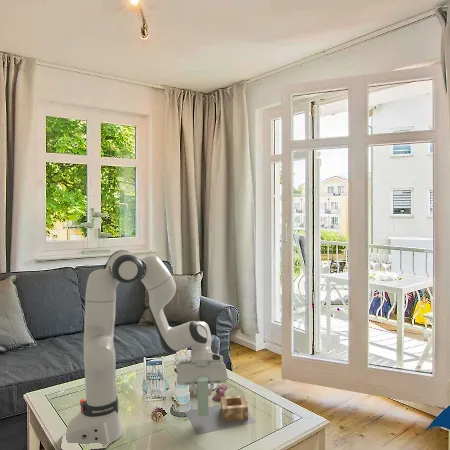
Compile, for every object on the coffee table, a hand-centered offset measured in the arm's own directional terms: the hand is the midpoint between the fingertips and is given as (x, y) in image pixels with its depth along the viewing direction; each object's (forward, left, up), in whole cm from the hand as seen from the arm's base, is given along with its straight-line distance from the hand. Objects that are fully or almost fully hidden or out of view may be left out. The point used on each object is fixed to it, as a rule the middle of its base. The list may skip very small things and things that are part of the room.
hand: (202, 394), depth 159 cm
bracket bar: (0, +1, -8) cm, 8 cm away
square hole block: (+13, +3, -12) cm, 18 cm away
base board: (+7, +3, -13) cm, 15 cm away
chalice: (+9, +34, -13) cm, 37 cm away
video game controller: (+13, +20, -13) cm, 28 cm away
